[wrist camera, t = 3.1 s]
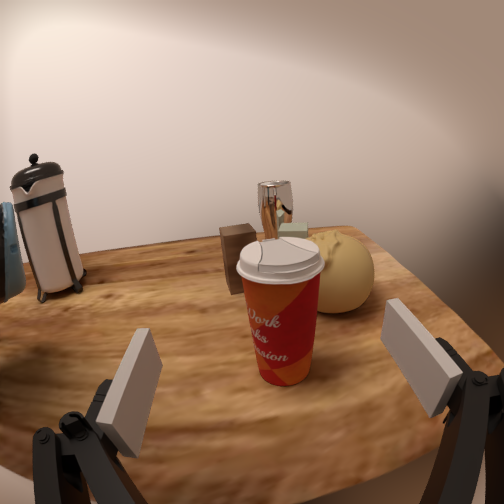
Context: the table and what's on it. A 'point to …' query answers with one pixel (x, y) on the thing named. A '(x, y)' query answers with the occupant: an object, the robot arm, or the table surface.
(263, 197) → the beer glass
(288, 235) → the sage block
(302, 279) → the paper cup
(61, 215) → the coffee press
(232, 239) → the walnut block
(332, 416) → the table surface
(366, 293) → the sculpture
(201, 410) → the table surface
